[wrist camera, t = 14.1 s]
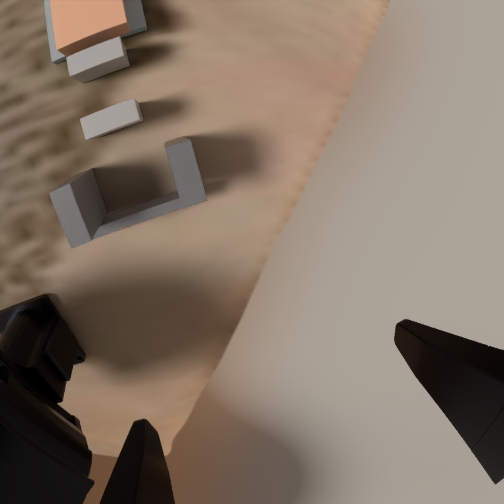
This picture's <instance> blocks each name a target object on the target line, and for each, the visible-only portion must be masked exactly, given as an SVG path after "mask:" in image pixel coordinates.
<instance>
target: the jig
mask: <svg viewBox="0 0 504 504" xmlns="http://www.w3.org/2000/svg"><path fill="white" fill-rule="evenodd" d="M66 59H67V64H68V69H69V74H70V77H72V78H74V79H76V80H78V81H80V82H82V83H86V82H88V81H91V80H93V79H96V78H98V77H101V76H103V75H106V74H109V73H111V72H114V71H117V70H120V69H123V68H126V67H129V66H130V65H129V61H128V57H127V52H126V49H125V46H124V44H123V42H122V40H121V38H120V36H119V37H116V38H113V39H111V40H108V41H105V42H102V43H100V44H97V45H94V46H92V47H89V48H87V49H84V50H82V51H80V52H77V53H75V54H73V55H70V56H68V57H66ZM80 121H81V125H82V128H83V132H84V136H85V139H86V140H89V139H93V138H98V137H100V136H103V135H106V134H108V133H111V132H113V131H116V130H119V129H121V128H124V127H127V126H130V125H133V124H136V123H138V122H141V121H143V117H142V114H141V110H140V106H139V103H138V102H137V101H136V100H135V99H134V98H133V99H130V100H128V101H125V102H122V103H119V104H116V105H114V106H111V107H108V108H106V109H103V110H101V111H98V112H96V113H93V114H91V115H88V116H86V117H84V118H81V119H80ZM165 149H166V153H167V156H168V160H169V163H170V167H171V170H172V173H173V177H174V180H175V184H176V187H177V190H178V191H176V192H173V193H170V194H167V195H164V196H161V197H158V198H155V199H152V200H149V201H146V202H143V203H140V204H138V205H135V206H132V207H129V208H126V209H124V210H121V211H118V212H116V213H113V214H110V215H108V216H106V214H107V210H106V207H105V204H104V201H103V199H102V196H101V193H100V190H99V187H98V184H97V181H96V178H95V175H94V172H93V169H89V170H87V171H85V172H82V173H80V174H78V175H75V176H74V177H72V178H71V179H69V180H68V181H66V182H64V183H63V184H61V185H60V186H58V187H57V188H55V189H54V190H52V191H51V192H50V193H49V194H50V197H51V199H52V202H53V205H54V207H55V210H56V213H57V215H58V218H59V220H60V223H61V225H62V228H63V230H64V232H65V235H66V237H67V239H68V242H69V244H70V246H71V249H72V248H74V247H77V246H79V245H82V244H84V243H87V242H90V241H92V240H93V239H96V238H98V237H101V236H103V235H106V234H109V233H112V232H114V231H117V230H120V229H122V228H125V227H128V226H131V225H134V224H136V223H139V222H142V221H145V220H148V219H151V218H154V217H157V216H160V215H163V214H165V213H168V212H171V211H175V210H178V209H181V208H186V207H189V206H192V205H195V204H198V203H202V202H205V201H207V198H206V194H205V191H204V187H203V183H202V180H201V176H200V172H199V169H198V165H197V161H196V158H195V154H194V150H193V147H192V143H191V140H190V139H188V138H186V137H184V136H183V137H180V138H177V139H173V140H170V141H167V142H165Z"/></svg>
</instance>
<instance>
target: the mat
mask: <svg viewBox="0 0 504 504" xmlns="http://www.w3.org/2000/svg"><path fill="white" fill-rule="evenodd" d="M123 1H124V6H125V11H126V16H127V20H128V25H129V30H130V33H127V34H124V35H121V36H120V38H123V37H126V36H129V35H132V34H136V33H139V32H142V31H146V30H147V26H146V21H145V16H144V12H143V7H142V2H141V0H123ZM44 3H45V14H46V23H47V32H48V39H49V46H50V52H51V58H52V62H53V63H55V64H58V63H60V62H62V61H64V60H67V59H66V56H65V55H63V54H62V53H60V52H59V51H57V49H56V43H55V36H54V30H53V22H52V14H51V5H50V0H44ZM118 37H119V36H118ZM115 38H116V37H115ZM112 39H113V38H112ZM110 40H111V39H110ZM107 41H108V40H107ZM104 42H105V41H104ZM99 44H100V43H99ZM96 45H97V44H96ZM91 47H92V46H91ZM86 49H87V48H86ZM79 52H80V51H79ZM72 55H73V54H72Z"/></svg>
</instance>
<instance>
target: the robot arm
mask: <svg viewBox="0 0 504 504" xmlns="http://www.w3.org/2000/svg"><path fill="white" fill-rule="evenodd" d="M43 301H46V303H47V304H45V303H44V302H43ZM0 333H1V335H0V504H83V502H84V500H85V497H86V495H87V493H88V492H89V490H90V489H91V488H92V486H93V485H94V480H92V479H90V478H89V475H90V470H91V466H92V451H91V450H89V449H88V445H87V441H86V438H85V436H84V434H83V433H82V429H81V425H80V421H79V419H78V418H76V417H75V416H74V415H71V414H69V413H68V412H67V411H66V410H64V409H63V408H62V407H61V406H59V405H58V404H57V403H60V402H63V397H64V392H65V387H66V382H67V381H70V378H71V374H72V369H73V365H75V364H78V363H82V362H84V361H85V357H86V355H85V353H84V352H83V350H82V349H81V347H80V346H79V343H78V341H77V340H76V338H75V337H74V335H73V334H72V332H71V330H70V329H69V327H68V326H67V324H66V322H65V321H64V319H62V318H61V316H60V314H59V313H58V311H57V309H56V308H55V306H54V304H53V303H52V301H51V299H50V298H49V297H48V296H47V295H41V296H38V297H36V298H33V299H30V300H28V301H25V302H23V303H20V304H17V305H15V306H12V307H10V308H7V309H4V310H2V311H0ZM394 342H395V345H396V346H397V348H398V350H399V351H400V353H401V354H402V356H403V358H404V359H405V361H406V362H407V364H408V365H409V367H410V369H411V370H412V372H413V373H414V375H415V376H416V378H417V379H418V380H419V382H420V383H421V384H422V385H423V387H424V388H425V389H426V391H427V392H428V393H429V394H430V396H431V397H432V398H433V400H434V401H435V402H436V404H437V405H438V406H439V407H440V409H441V410H442V411H443V413H444V414H445V415H446V417H447V418H448V419H449V421H450V422H451V423H452V425H453V426H454V427H455V429H456V430H457V431H458V433H459V434H460V435H461V437H462V438H463V440H464V441H465V442H466V444H467V445H468V447H469V448H470V449H471V451H472V452H473V454H474V455H475V457H476V458H477V459H478V461H479V462H480V464H481V465H482V466H483V468H484V469H485V471H486V472H487V474H488V475H489V476H490V478H491V480H492V481H493V482H494V483H495V484H497V483H498V482H499V481H500V480H502V479H503V478H504V350H501V349H498V348H494V347H491V346H488V345H485V344H482V343H478V342H476V341H472V340H469V339H466V338H463V337H460V336H457V335H454V334H451V333H448V332H445V331H442V330H438V329H436V328H432V327H429V326H426V325H423V324H420V323H417V322H414V321H411V320H408V319H405V320H402V321H400V322H399V323H397V324H396V328H395V336H394ZM78 356H81V357H78ZM100 504H175V501H174V496H173V491H172V485H171V479H170V475H169V471H168V467H167V463H166V460H165V456H164V453H163V449H162V445H161V442H160V438H159V435H158V432H157V431H156V429H155V428H154V427H153V426H152V425H151V424H150V423H149V421H148V420H146V419H140V420H136V421H134V422H133V424H132V427H131V429H130V431H129V434H128V436H127V438H126V441H125V443H124V445H123V448H122V450H121V452H120V455H119V457H118V460H117V462H116V464H115V467H114V469H113V472H112V474H111V476H110V479H109V481H108V484H107V486H106V488H105V491H104V494H103V496H102V499H101V501H100Z"/></svg>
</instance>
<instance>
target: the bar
mask: <svg viewBox="0 0 504 504" xmlns="http://www.w3.org/2000/svg"><path fill="white" fill-rule="evenodd" d="M50 5H51V14H52V22H53V30H54V36H55V43H56V49H57V51H59V52H60V53H62V54H63V55H65V56H66V57H68V56H70V55H72V54H75V53H77V52H79V51H82V50H84V49H86V48H89V47H91V46H94V45H96V44H99V43H102V42H104V41H107V40H110V39H112V38H115V37H118V36H121V35H124V34H127V33H130V30H129V25H128V20H127V16H126V11H125V6H124V1H123V0H50Z"/></svg>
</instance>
